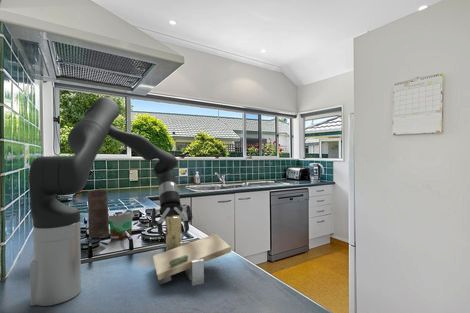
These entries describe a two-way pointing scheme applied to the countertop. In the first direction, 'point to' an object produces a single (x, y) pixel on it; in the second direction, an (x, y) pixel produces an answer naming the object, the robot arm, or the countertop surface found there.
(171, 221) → the cylinder
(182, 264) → the tilting board
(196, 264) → the board stand
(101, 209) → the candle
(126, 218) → the food container
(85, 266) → the countertop surface
